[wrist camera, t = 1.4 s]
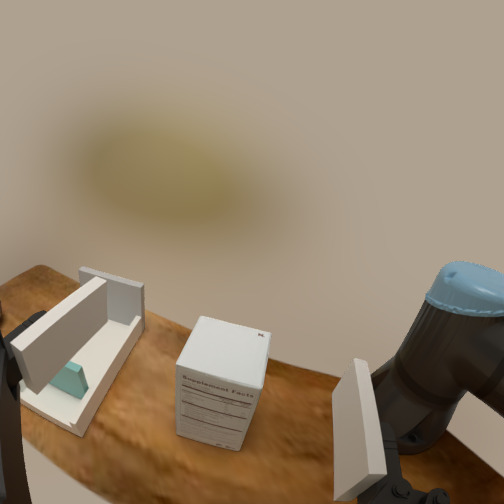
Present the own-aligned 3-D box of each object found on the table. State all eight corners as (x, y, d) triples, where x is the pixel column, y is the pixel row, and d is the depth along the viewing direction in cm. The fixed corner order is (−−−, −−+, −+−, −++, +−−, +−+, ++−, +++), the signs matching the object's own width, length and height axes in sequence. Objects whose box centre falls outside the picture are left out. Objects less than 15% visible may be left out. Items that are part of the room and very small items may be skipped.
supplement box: (193, 389, 33) (200, 312, 28) (250, 405, 33) (274, 331, 28) (173, 435, 27) (172, 362, 21) (239, 454, 26) (264, 388, 21)
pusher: (88, 402, 26) (77, 372, 24) (35, 375, 26) (22, 344, 24) (91, 396, 27) (82, 366, 25) (39, 370, 27) (27, 339, 25)
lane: (82, 437, 23) (61, 396, 19) (14, 399, 23) (-10, 353, 19) (145, 327, 42) (144, 283, 38) (87, 309, 42) (82, 266, 39)
